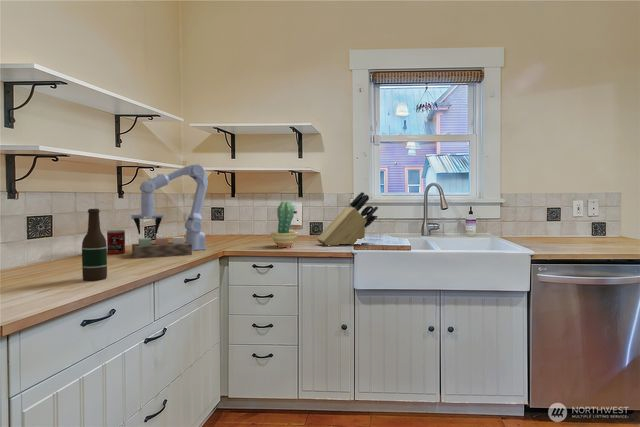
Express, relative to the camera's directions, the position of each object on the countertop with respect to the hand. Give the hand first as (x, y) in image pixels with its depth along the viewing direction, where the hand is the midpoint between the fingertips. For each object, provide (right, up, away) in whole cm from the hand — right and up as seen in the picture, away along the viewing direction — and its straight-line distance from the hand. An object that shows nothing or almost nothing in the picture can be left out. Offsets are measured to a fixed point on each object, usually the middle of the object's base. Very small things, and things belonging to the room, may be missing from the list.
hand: (147, 233), depth 202 cm
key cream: (+16, -6, -2) cm, 17 cm away
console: (+9, -10, -5) cm, 14 cm away
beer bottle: (+7, -13, -61) cm, 63 cm away
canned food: (-14, -10, -2) cm, 17 cm away
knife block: (+101, -8, +40) cm, 108 cm away
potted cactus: (+64, -9, +27) cm, 70 cm away
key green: (+3, -6, -9) cm, 11 cm away
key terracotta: (+9, -6, -6) cm, 12 cm away
